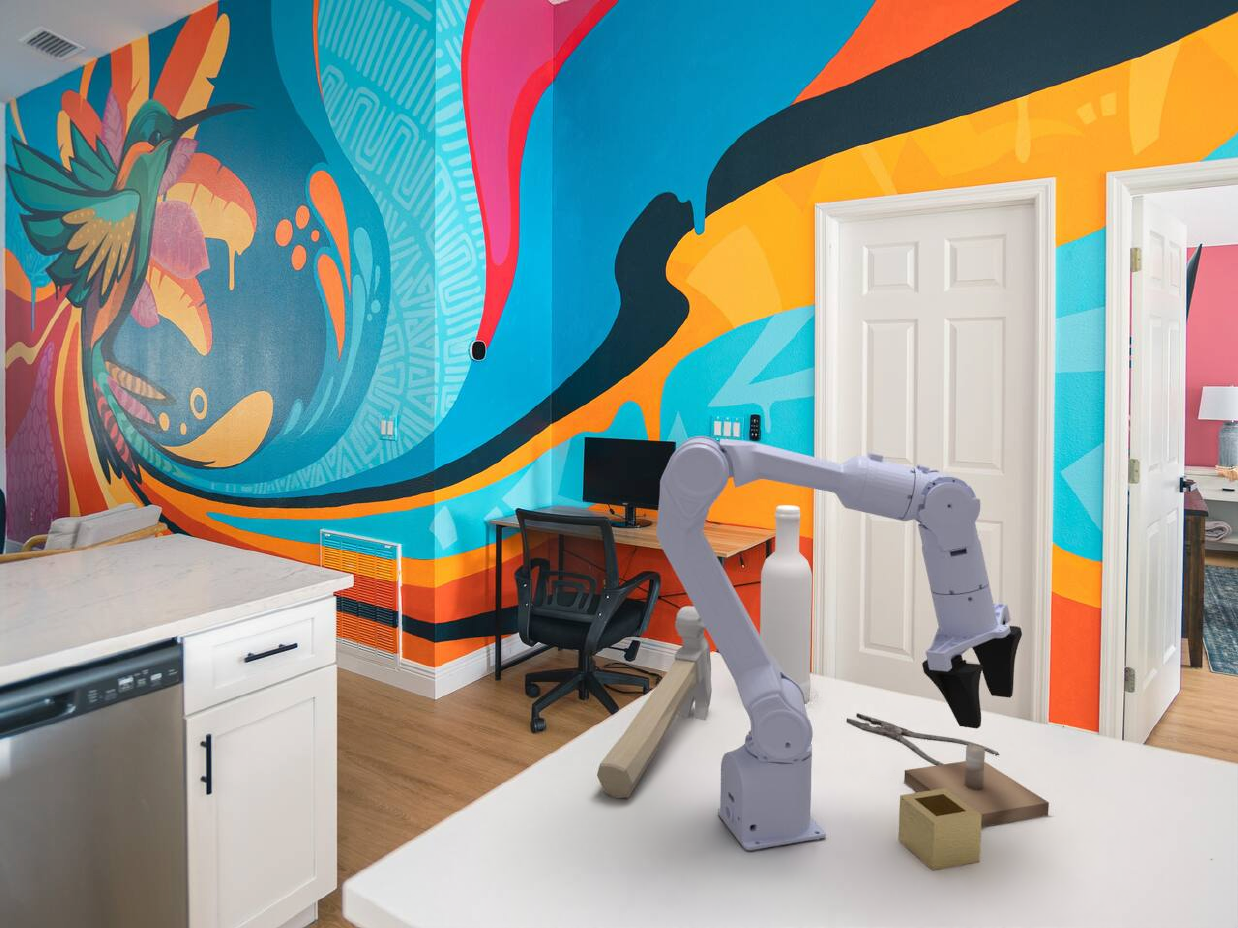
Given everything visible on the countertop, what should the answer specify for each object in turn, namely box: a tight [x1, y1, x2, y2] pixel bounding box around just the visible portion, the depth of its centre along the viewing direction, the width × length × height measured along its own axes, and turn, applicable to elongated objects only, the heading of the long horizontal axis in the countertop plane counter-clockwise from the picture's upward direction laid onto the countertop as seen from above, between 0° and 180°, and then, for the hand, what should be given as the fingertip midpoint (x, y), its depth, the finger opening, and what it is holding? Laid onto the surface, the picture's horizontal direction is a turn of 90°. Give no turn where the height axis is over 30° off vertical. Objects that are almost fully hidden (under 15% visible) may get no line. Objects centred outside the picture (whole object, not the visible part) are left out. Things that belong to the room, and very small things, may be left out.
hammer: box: [596, 605, 713, 799], centre depth 106 cm, size 16×5×30 cm
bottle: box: [759, 504, 813, 704], centre depth 123 cm, size 8×8×30 cm
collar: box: [898, 788, 982, 871], centre depth 83 cm, size 6×6×5 cm
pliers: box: [846, 712, 1000, 766], centre depth 108 cm, size 10×1×20 cm
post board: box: [903, 745, 1050, 828], centre depth 94 cm, size 11×11×6 cm
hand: (986, 710), depth 84 cm, fingers open, 7 cm apart
